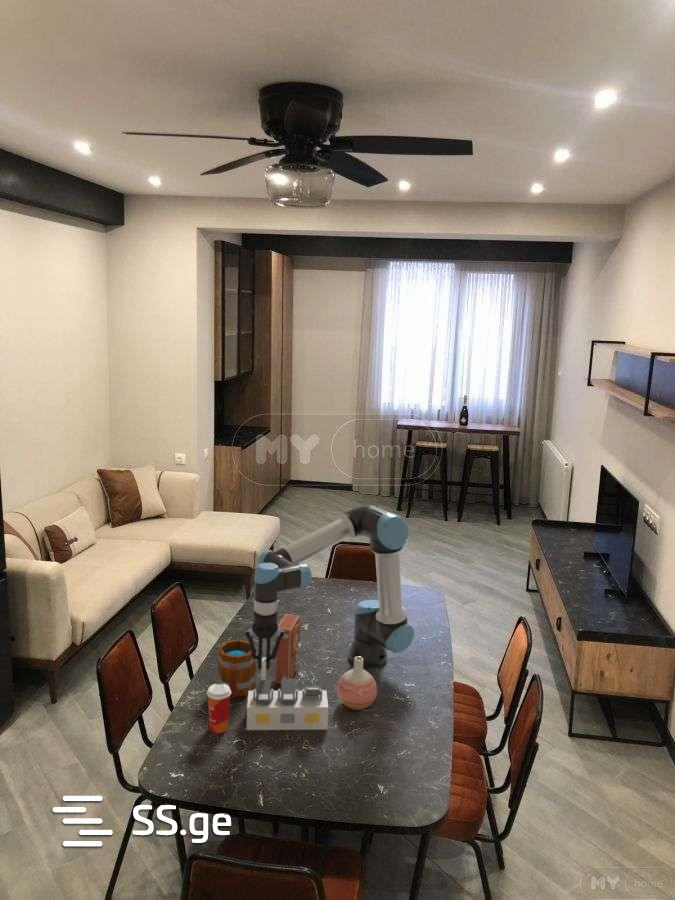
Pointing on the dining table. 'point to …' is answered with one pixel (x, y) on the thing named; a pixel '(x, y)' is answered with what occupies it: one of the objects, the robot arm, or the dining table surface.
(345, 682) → the vase
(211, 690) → the paper cup
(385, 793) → the dining table surface
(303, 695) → the console
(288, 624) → the control panel
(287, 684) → the rocker
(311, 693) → the rocker
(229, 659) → the mug
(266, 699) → the rocker
